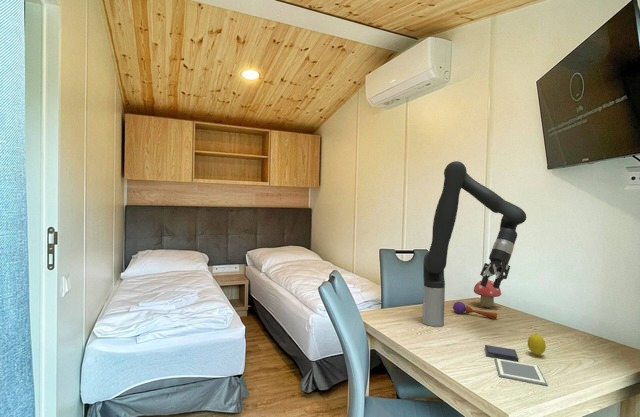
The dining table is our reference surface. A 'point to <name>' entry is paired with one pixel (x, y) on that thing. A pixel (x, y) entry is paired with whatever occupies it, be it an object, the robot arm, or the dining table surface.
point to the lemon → (536, 344)
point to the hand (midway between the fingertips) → (488, 287)
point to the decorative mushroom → (487, 293)
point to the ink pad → (501, 353)
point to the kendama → (461, 308)
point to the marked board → (520, 372)
